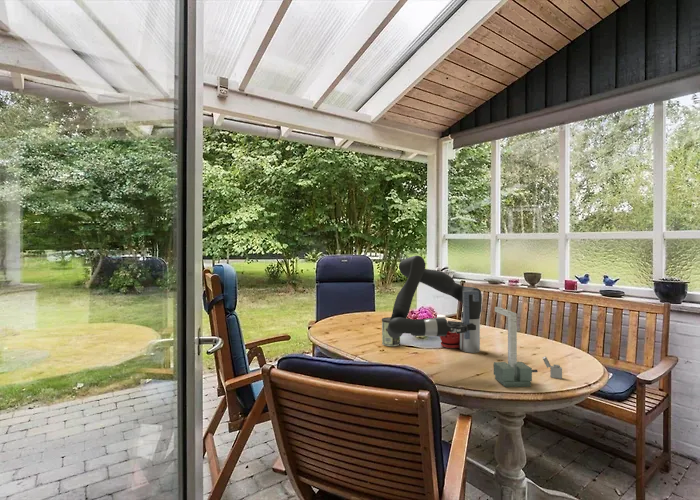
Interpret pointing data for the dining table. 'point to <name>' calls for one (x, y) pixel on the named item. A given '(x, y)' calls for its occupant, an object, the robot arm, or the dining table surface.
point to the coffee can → (385, 336)
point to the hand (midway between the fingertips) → (474, 326)
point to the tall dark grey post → (466, 308)
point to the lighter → (553, 369)
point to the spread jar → (442, 317)
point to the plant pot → (450, 340)
